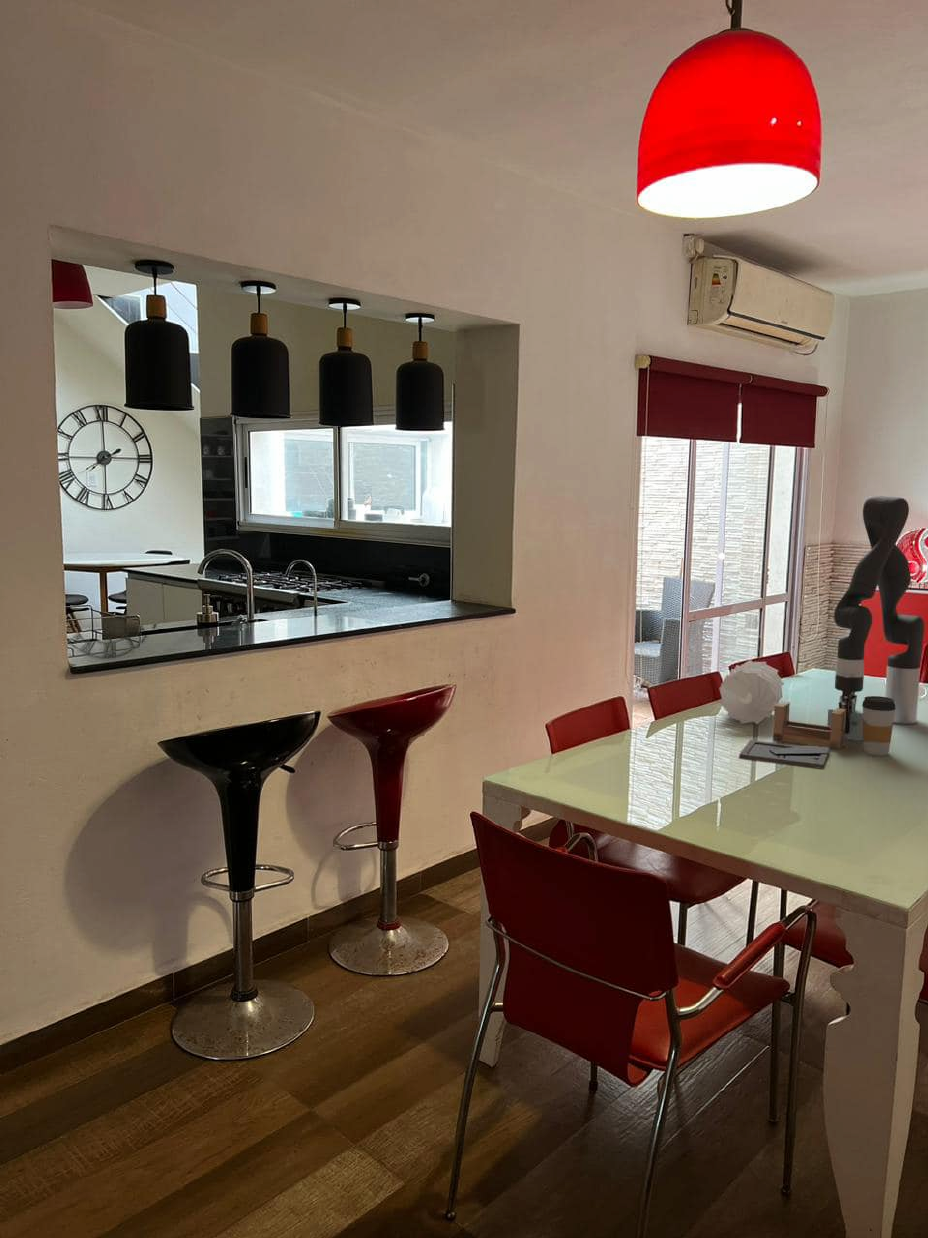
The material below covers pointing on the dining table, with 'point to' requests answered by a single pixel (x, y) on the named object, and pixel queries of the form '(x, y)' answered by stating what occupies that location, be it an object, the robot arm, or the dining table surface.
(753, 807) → the dining table surface
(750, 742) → the picture frame
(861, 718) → the door panel
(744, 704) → the spiral staircase
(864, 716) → the coffee cup
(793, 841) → the dining table surface
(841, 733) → the track
